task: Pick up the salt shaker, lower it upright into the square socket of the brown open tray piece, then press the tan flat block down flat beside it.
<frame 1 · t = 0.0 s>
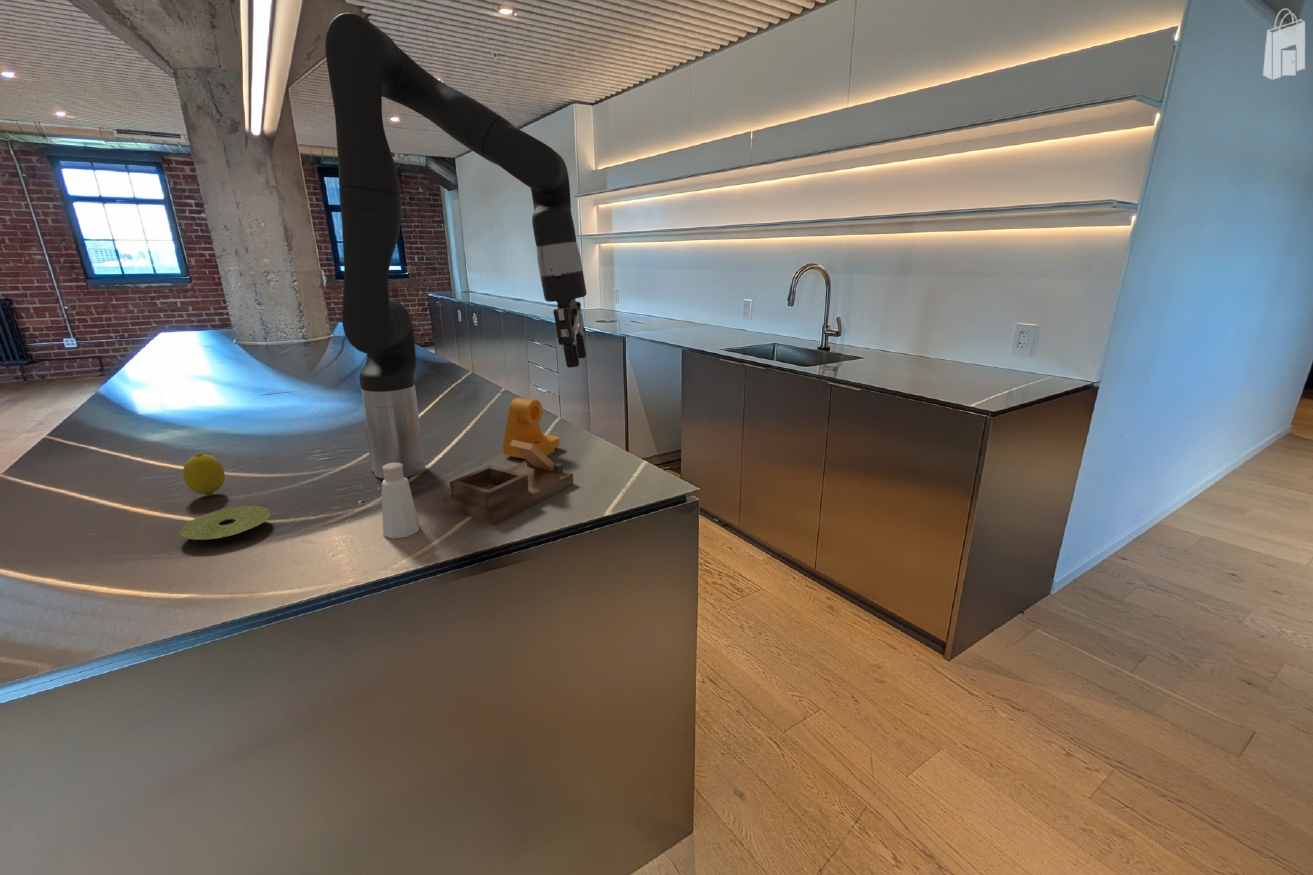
hand: (577, 362, 104), 22 cm above the counter, tool pointing down, fingers open, 8 cm apart
lemon: (210, 496, 99), on the counter
green abrasive disc: (229, 533, 86), on the counter
brown open tray piece: (512, 495, 101), on the counter
tan flat block: (534, 456, 104), point 5 cm above the counter, hinge at 45.0°
bracket: (533, 454, 122), on the counter
salt shaker: (402, 531, 88), on the counter
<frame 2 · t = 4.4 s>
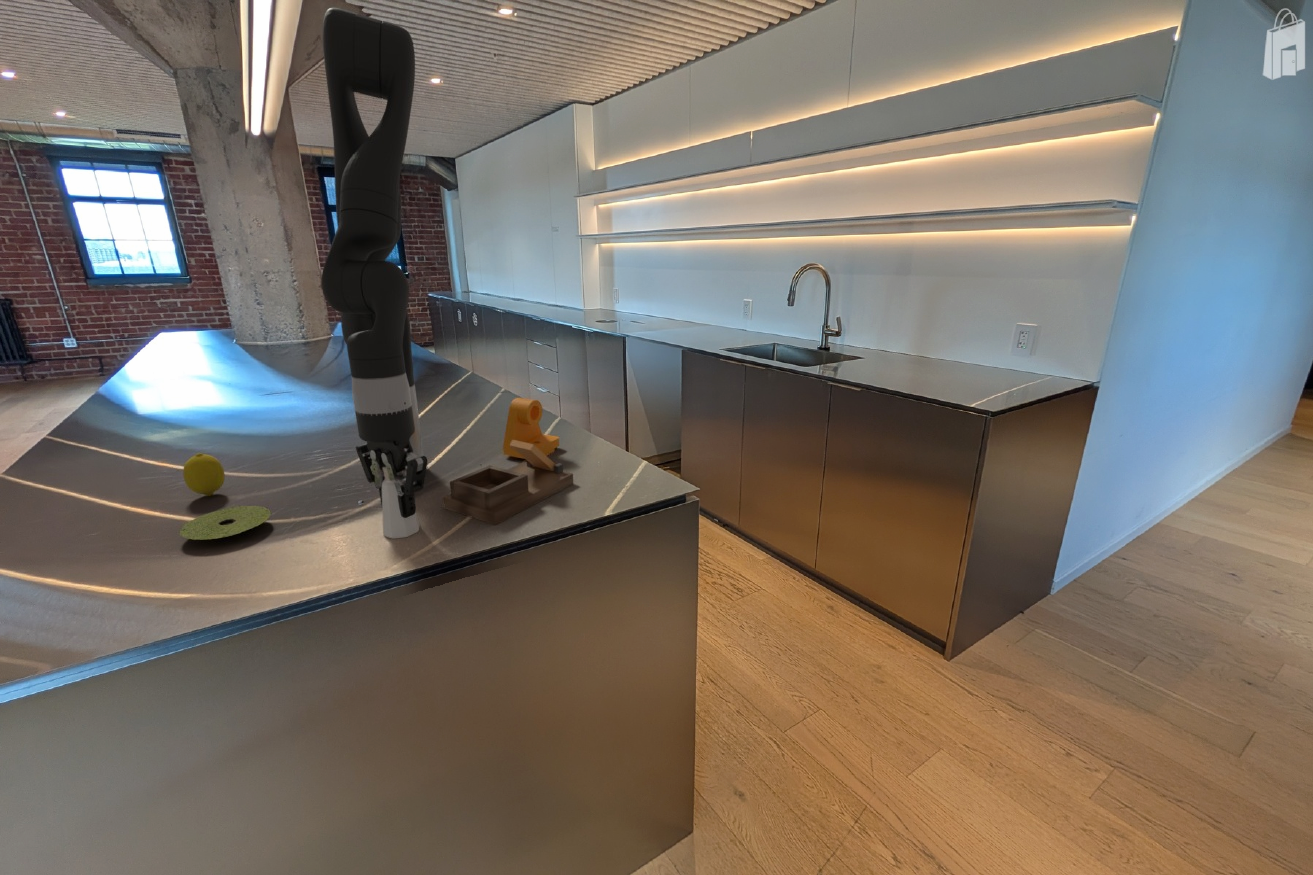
hand: (399, 511, 87), 3 cm above the counter, tool pointing down, fingers closed on salt shaker, 3 cm apart
salt shaker: (402, 531, 88), on the counter, touching gripper
everything else where it was.
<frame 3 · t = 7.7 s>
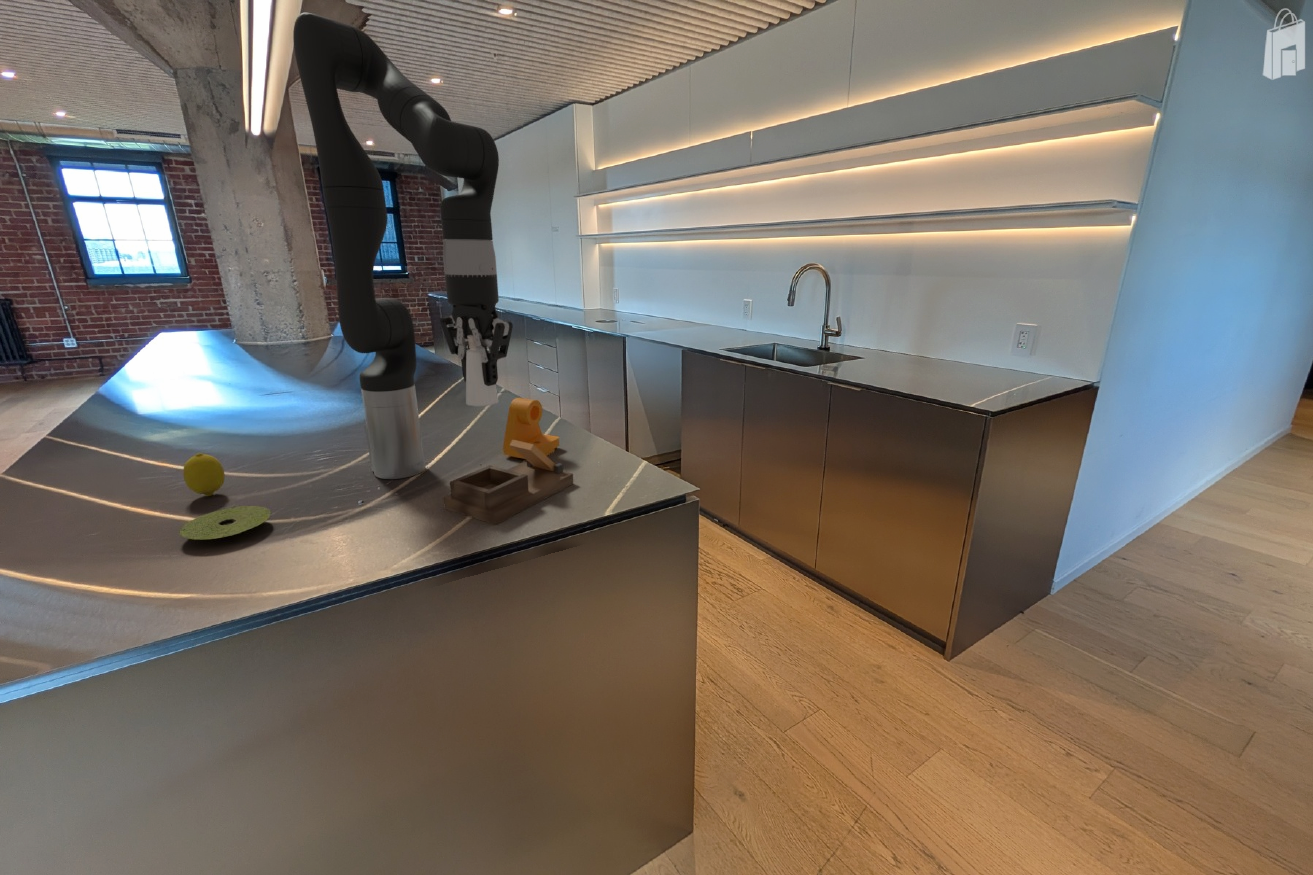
hand: (480, 382, 90), 22 cm above the counter, tool pointing down, fingers closed on salt shaker, 3 cm apart
salt shaker: (482, 403, 91), point 18 cm above the counter, touching gripper
everything else where it was.
when the fingers open (7 cm above the counter, at t = 11.4 s): salt shaker drops 1 cm, resting on brown open tray piece.
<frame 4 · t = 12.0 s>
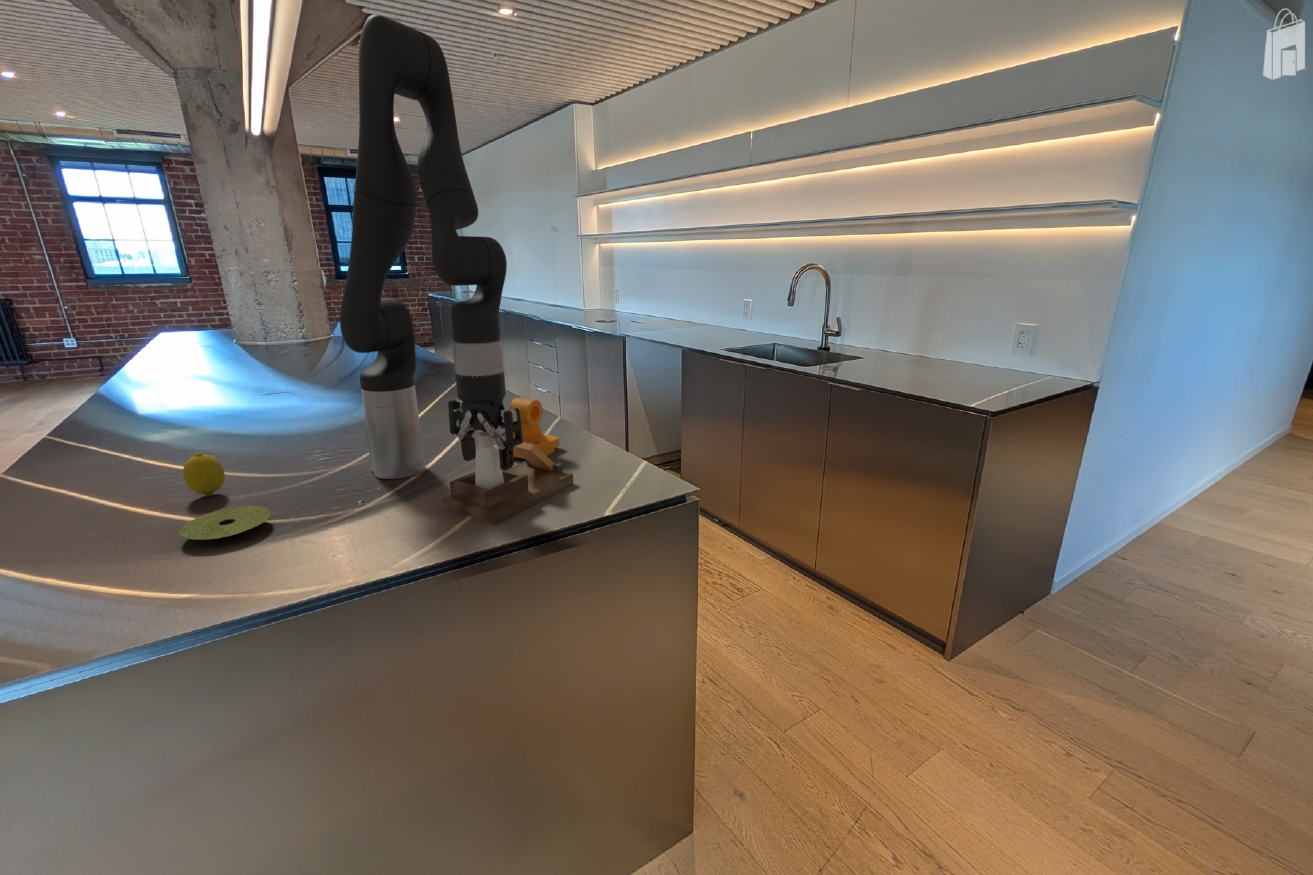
hand: (488, 464, 94), 8 cm above the counter, tool pointing down, fingers open, 8 cm apart
salt shaker: (490, 495, 96), point 2 cm above the counter, touching brown open tray piece
everything else where it was.
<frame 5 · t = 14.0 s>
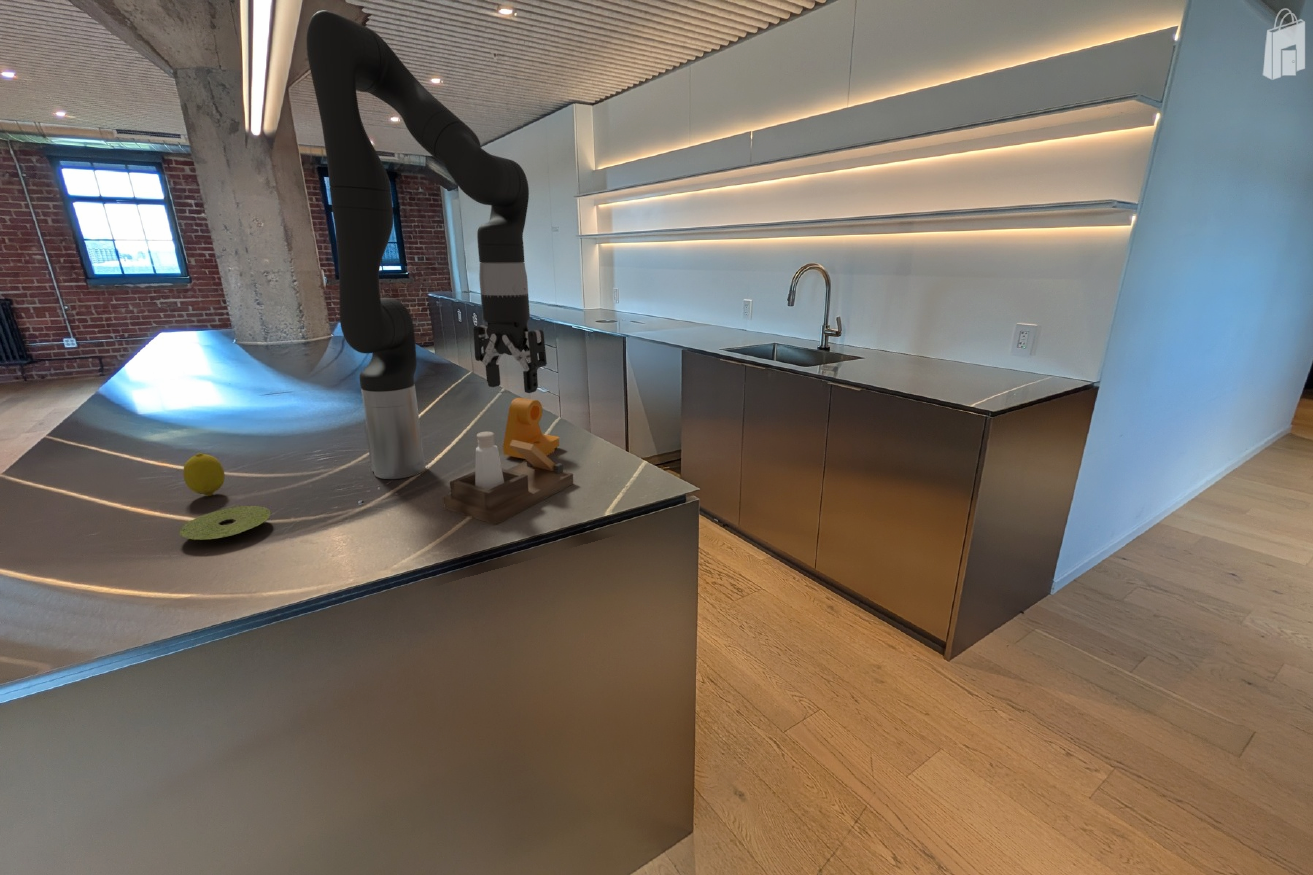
hand: (512, 389, 96), 19 cm above the counter, tool pointing down, fingers open, 8 cm apart
nothing on the counter moved.
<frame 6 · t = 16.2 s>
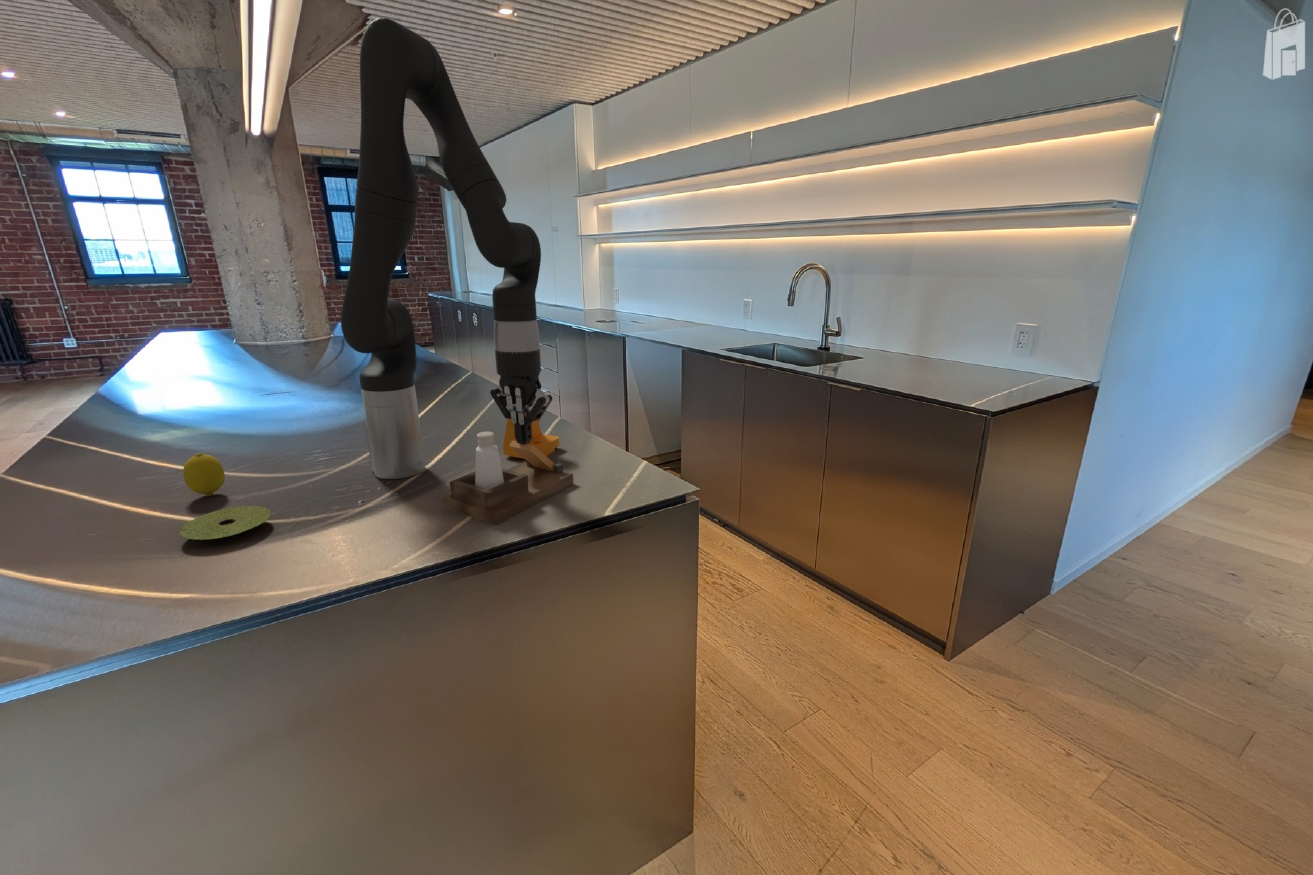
hand: (523, 442, 101), 9 cm above the counter, tool pointing down, fingers closed
tan flat block: (534, 456, 104), point 5 cm above the counter, hinge at 44.1°, touching gripper
everything else where it was.
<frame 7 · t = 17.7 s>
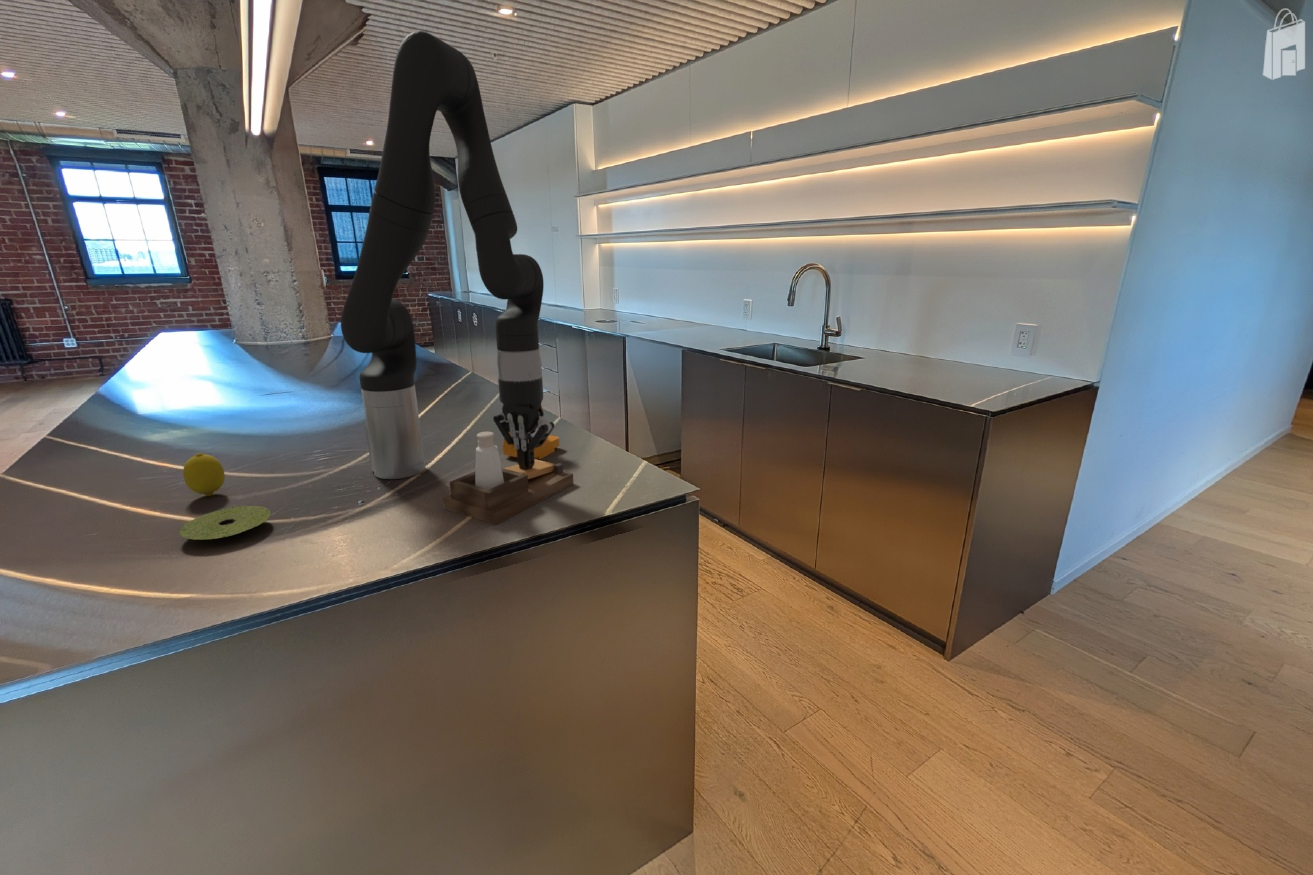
hand: (526, 468, 103), 4 cm above the counter, tool pointing down, fingers closed
tan flat block: (531, 469, 104), point 3 cm above the counter, hinge at 6.7°, touching gripper
everything else where it was.
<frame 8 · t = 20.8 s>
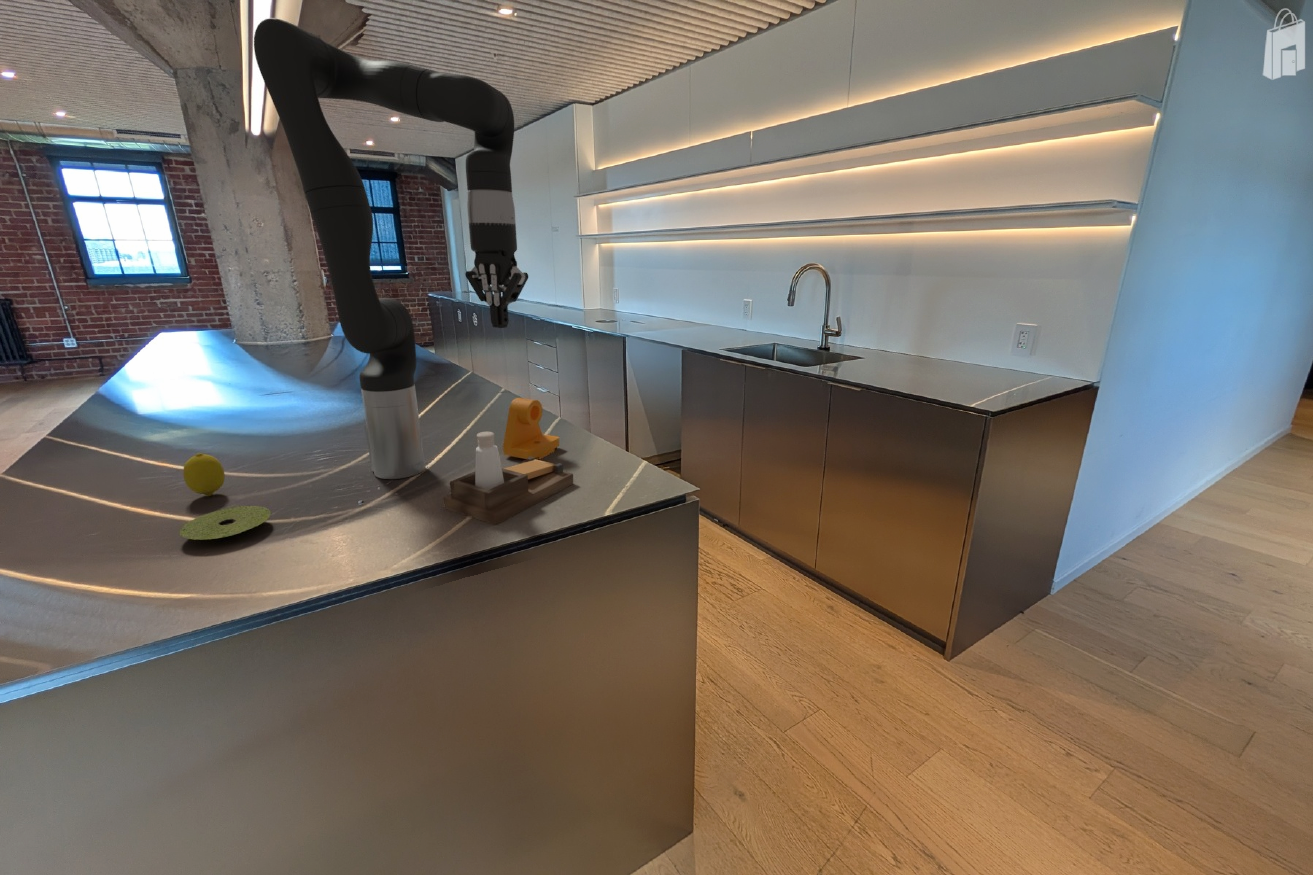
hand: (500, 327, 98), 29 cm above the counter, tool pointing down, fingers closed
tan flat block: (531, 469, 104), point 3 cm above the counter, hinge at 6.4°
everything else where it was.
at the end: salt shaker 0.0 cm from the target spot on the brown open tray piece, point 1.8 cm above the brown open tray piece's base; salt shaker tilted 0°; tan flat block at +6° (first picture: +45°) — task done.
